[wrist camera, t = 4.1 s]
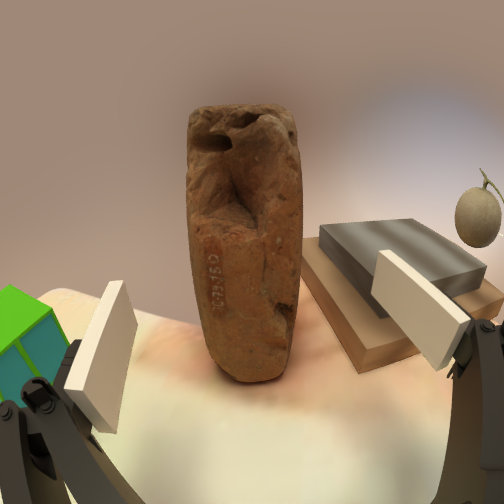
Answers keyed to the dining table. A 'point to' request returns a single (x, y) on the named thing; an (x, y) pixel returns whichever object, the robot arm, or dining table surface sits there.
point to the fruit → (478, 216)
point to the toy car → (27, 343)
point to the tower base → (363, 320)
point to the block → (245, 234)
